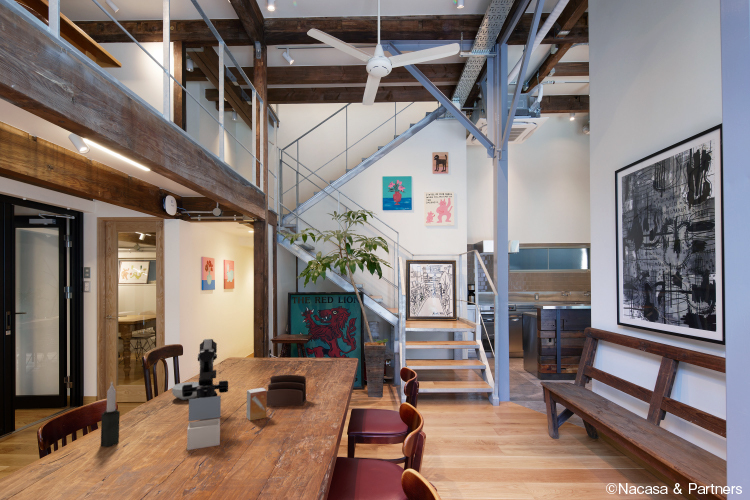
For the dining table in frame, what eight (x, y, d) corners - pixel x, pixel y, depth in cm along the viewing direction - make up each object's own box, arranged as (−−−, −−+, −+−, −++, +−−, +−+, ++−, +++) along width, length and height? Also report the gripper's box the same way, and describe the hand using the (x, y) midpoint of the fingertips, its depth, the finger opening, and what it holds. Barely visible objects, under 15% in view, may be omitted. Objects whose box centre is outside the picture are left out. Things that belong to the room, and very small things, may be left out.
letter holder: (270, 400, 216) (270, 374, 217) (306, 400, 216) (306, 374, 217) (265, 406, 206) (265, 379, 207) (302, 406, 206) (302, 379, 207)
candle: (120, 442, 162) (122, 381, 164) (108, 447, 158) (110, 384, 159) (111, 441, 164) (113, 380, 166) (99, 446, 159) (101, 383, 161)
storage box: (188, 442, 162) (188, 422, 162) (219, 437, 166) (219, 418, 167) (187, 450, 154) (187, 429, 155) (219, 444, 159) (219, 424, 159)
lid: (188, 421, 163) (188, 420, 164) (220, 417, 167) (220, 416, 168) (189, 399, 164) (189, 399, 165) (220, 396, 169) (220, 395, 170)
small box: (249, 421, 185) (250, 393, 186) (246, 417, 190) (246, 389, 191) (266, 417, 189) (267, 390, 190) (262, 413, 195) (262, 387, 196)
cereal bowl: (195, 402, 214) (195, 389, 215) (165, 402, 214) (165, 389, 215) (209, 393, 231) (209, 380, 232) (181, 393, 231) (181, 381, 232)
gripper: (182, 366, 171) (179, 399, 160) (228, 362, 178) (228, 393, 167) (184, 380, 177) (181, 413, 166) (227, 376, 184) (228, 407, 173)
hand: (205, 406), depth 168 cm, fingers closed
